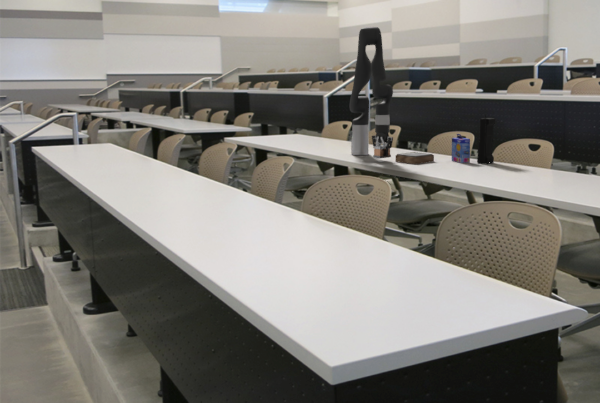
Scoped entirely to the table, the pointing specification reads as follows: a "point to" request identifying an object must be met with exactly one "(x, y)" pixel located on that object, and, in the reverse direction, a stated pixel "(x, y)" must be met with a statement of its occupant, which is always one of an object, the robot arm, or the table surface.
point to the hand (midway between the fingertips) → (382, 155)
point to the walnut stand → (414, 157)
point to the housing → (380, 152)
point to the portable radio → (485, 140)
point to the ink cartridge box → (461, 149)
